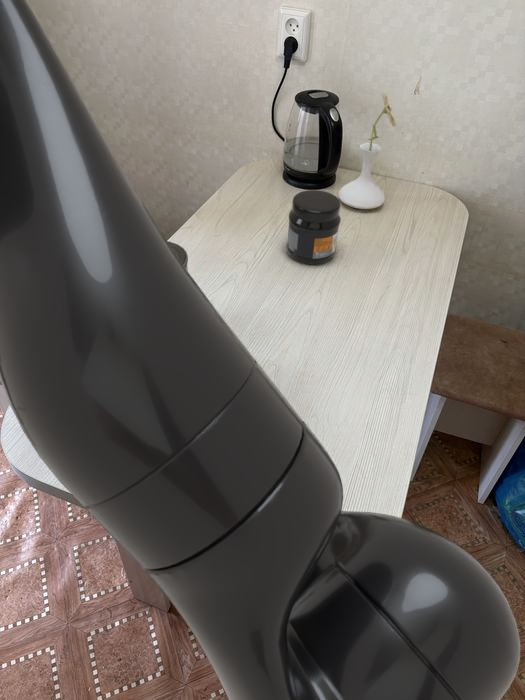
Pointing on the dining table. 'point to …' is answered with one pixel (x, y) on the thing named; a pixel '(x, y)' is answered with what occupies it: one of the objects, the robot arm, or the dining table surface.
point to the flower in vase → (367, 173)
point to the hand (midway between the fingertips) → (224, 477)
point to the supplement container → (313, 226)
